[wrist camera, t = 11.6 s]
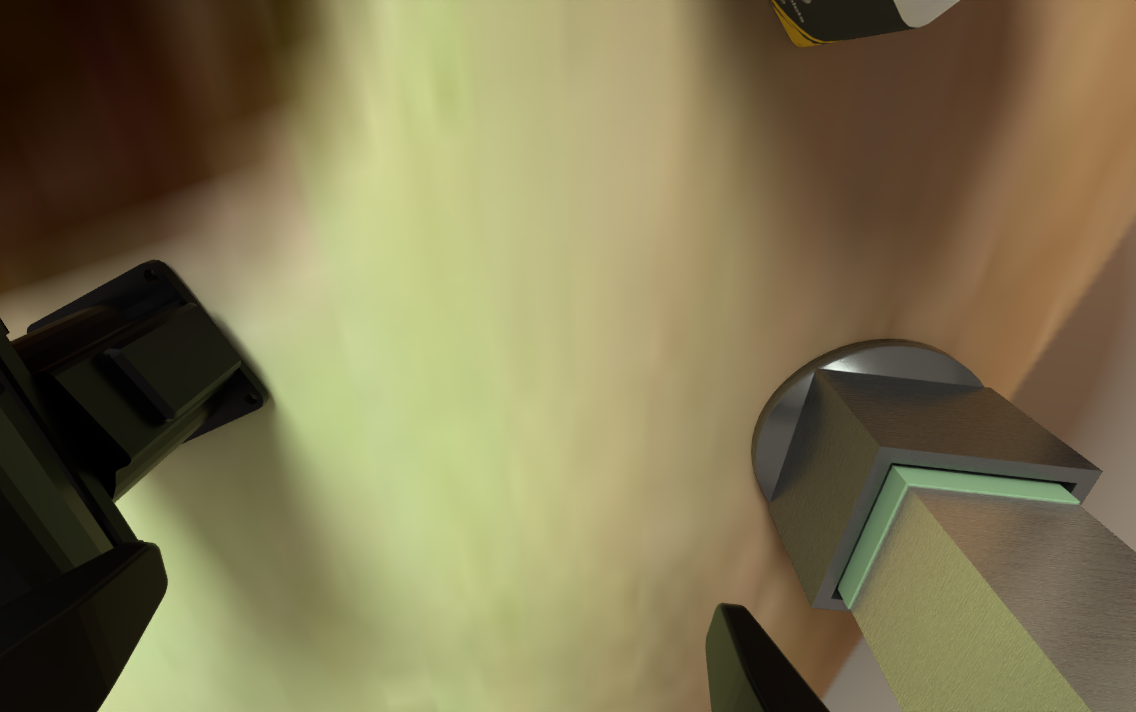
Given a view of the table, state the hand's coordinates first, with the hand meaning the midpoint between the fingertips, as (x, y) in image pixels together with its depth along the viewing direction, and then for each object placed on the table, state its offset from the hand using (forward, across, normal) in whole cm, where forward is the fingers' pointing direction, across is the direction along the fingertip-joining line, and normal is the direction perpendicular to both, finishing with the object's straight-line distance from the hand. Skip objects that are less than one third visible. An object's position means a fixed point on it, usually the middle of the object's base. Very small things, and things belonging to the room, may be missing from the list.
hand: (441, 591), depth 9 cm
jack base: (+13, -14, +4) cm, 20 cm away
